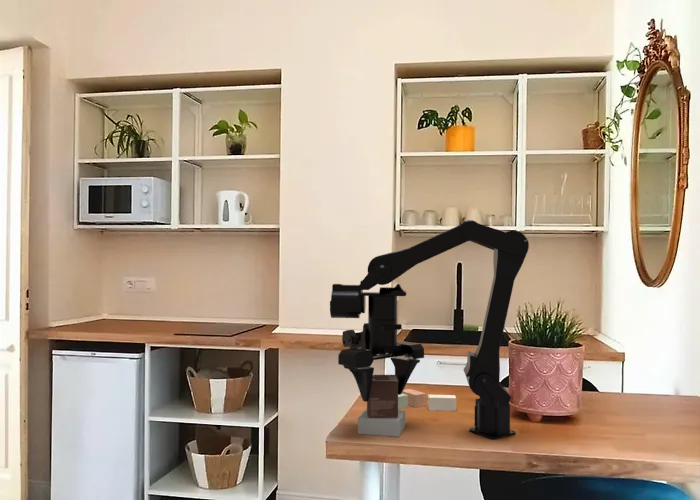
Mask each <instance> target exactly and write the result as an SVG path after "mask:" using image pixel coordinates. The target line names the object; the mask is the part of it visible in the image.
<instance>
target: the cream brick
mask: <svg viewBox="0 0 700 500" xmlns="http://www.w3.org/2000/svg"><path fill="white" fill-rule="evenodd" d="M427 395H428V397H427V398H428V402H427V404H428V407H427V408H428V411H438V412H439V411H442V412H457V397H456V395H455V394H427Z"/></svg>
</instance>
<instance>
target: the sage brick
mask: <svg viewBox="0 0 700 500" xmlns="http://www.w3.org/2000/svg"><path fill="white" fill-rule="evenodd" d="M407 408H409V405H408V395H406V394H401V395H398V410H404V409H407Z"/></svg>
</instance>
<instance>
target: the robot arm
mask: <svg viewBox="0 0 700 500" xmlns="http://www.w3.org/2000/svg"><path fill="white" fill-rule="evenodd" d="M467 242H471V243H474V244H477V245H479V246H481V247H484V248H487V249H489V250H492V251H493V259H492V260H493V277H492V283H491V287H490V291H489V296H488V297H489V298H488V302H487V306H486V311H485V315H484V319H483V325H482V329H481V334H480V337H479V343H478V346H477V347H476V349H475V351H474V352H472V351H470V350H467V356H466V357H467V358H466V365H465V366H464V367H463V372H464V374H465V377H466V381H467V384H468V387H469V389H470V391H471V392H472V393H473V394H475V395H476V396H478V398H475V405H474V427H471V428H469V432H471V433H474V434H476V435H479V436H482V437H485V438H488V439H490V440H496V439H499V438H504V437H509V436H515V435H516V434H517V431H515V430H512V429H511V403H510V401H511V399H512V396H511V394H510V393H509V391H508V390H507V388H506V387H505V385H504V384H503V383H502V382H501V381H500V379H501V378H500V375H501V374H500V372H501V369H500V368H501V367H500V366H501V364H500V363H501V360H500V348H501V344H502V340H503V335H504V330H505V326H506V325H505V324H506V320H507V316H508V311H509V306H510V302H511V297H512V293H513V288H514V283H515V279H516V277H517V276H518V274H519V271H520V270H521V268H522V267H523V263H524V261H525V259H526V257H527V254H528V252H529V249H530V247H529V246H530V243H529V240H528V238H527V237H526V236H525V234H523V233H522V232H520V231H518V230H509V231H503V230H500V229H497V228H493V227H491V226H487V225H485V224H481V223H479V222H477V221H475V220H472V219H467V220H465V221H462V222H461V223H460V224H459V225H456V226H454V227H453V228H450V229H447V230H446V231H443V232H441V233H439V234H436V235H434V236H432V237H430V238H428V239H426V240H424V241H421V242H419V243H417V244H415V245H413V246H411V247H408V248H404V249H401V250H400V249H399V250H397V251H392V252H388V253H384V254H381V255H377V256H375V257H373V258H372V259H371V260H370V261H369V262H368V266H367V274H366V276H364V278H363V279H361V280H360V284H342V283H333V284H332V285H331V286H332V288H331V289H332V290H331V296H330V300H329V314H330V318H331V319H360V317H361V315H362V314H365V313H366V306H367V304H366V300H367V302H368V308H367V309H368V311H367V313H368V314H367V316H368V317H367V322H366V323H363V325H362V331H360V332H359V331H358V332H355V330H354V329H346V330H344V331H342V334H341V336H342V337H341V341H342V346H343V347H344V348H345V349H341V350H340V352H339V353H338V356H337V357H338V358H337V360H338V361H337V362H338V365H340V366H343V368H344V369H347V370H349V372H350V373H352V375H353V378H354V380H355V382H356V384H357V387H358V390H359V393H360V395H361V396H360V397H361V399H362V401H363V402H365V403H367V401H368V399H369V395H370V390H371V384H372V378H373V375H374V370H375V367H374V366H373V367H372V364H373V363H374V361H378V360H384V359H390V360H391V362H392V365H393V367H394V375H396V376H397V379H398V395H401V394H402V392H403V390H405V388H406V385H407V383H408V381H409V379H410V377H411V375H412V373H413V371H414V370H415V368H416V366H417V365H418V363H420V362H421V359H425V348H424V346H423V345H422V343H418V342H411V341H399V342H398V330H402V324H401V323H398V297H406V296H407V291H406V290H404V288H403V287H402V286H401V284H400V283H397V284H396V285H395V286H394V287H392V286H391V287H385V285H388V284H390V283H392V282H393V281H395V280H396V279H398V278H399V277H400V276H402V275H404V274H405V273H407V271H409V270H411V269H412V268H414V267H415V266H417V265H418V264H421V263H423V262H426V261H427V260H430V259H432V258H434V257H437V256H438V255H441V254H443V253H445V252H448V251H450V250H452V249H454V248H457V247H458V246H460V245H463V244H465V243H467ZM378 285H379V286H384V287H379V291H377V292H376V291H375V292H374V291H373V292H371V291H370V290H371V289H373V288H374V287H375V286H378ZM365 291H366V292H365ZM367 291H370V292H367ZM366 297H368V299H366ZM346 348H347V349H346Z"/></svg>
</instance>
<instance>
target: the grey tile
mask: <svg viewBox="0 0 700 500" xmlns="http://www.w3.org/2000/svg"><path fill="white" fill-rule="evenodd" d="M405 427H406V410H401V409H399V410H398V417H397V418H370V417H368V415H367V408H366V409H364V411H363V412H362V413H361V414H360V415H359V416H358V418H357V434H358V435H368V436H369V435H370V436H382V437H394V438H395V437H396V438H400V436H401V434H402V433H403V430H404V429H405Z"/></svg>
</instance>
